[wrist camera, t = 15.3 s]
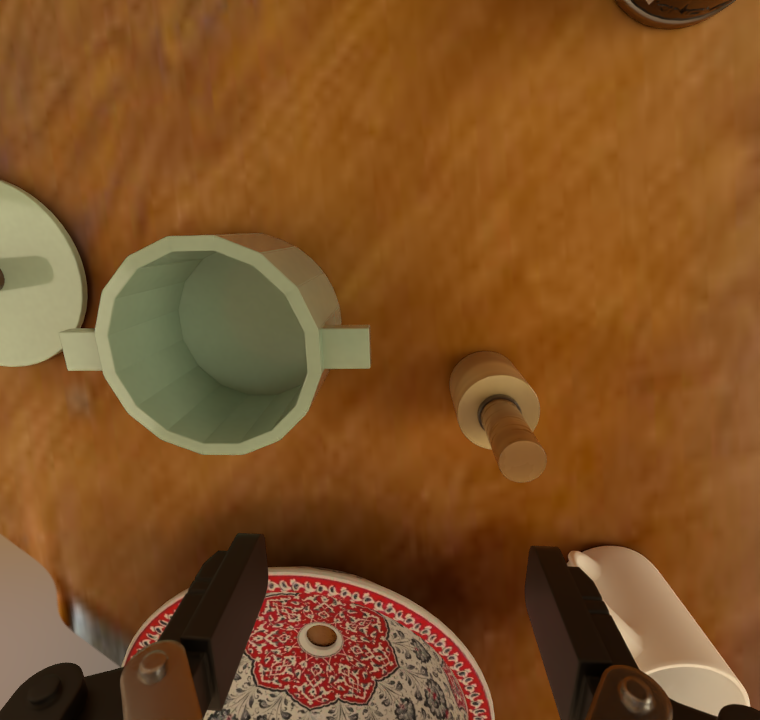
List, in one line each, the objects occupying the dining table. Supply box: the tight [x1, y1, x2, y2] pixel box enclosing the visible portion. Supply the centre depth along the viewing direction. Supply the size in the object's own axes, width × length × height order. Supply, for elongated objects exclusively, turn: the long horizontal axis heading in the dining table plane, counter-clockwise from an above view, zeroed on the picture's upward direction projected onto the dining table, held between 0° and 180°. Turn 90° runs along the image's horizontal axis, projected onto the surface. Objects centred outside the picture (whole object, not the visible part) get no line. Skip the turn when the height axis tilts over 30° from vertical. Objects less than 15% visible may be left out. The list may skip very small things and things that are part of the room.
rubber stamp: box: [449, 351, 547, 482], centre depth 27 cm, size 5×5×12 cm
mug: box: [567, 546, 750, 717], centre depth 32 cm, size 9×12×11 cm
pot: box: [59, 233, 371, 455], centre depth 28 cm, size 13×18×8 cm
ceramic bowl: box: [122, 566, 495, 720], centre depth 37 cm, size 29×29×8 cm
